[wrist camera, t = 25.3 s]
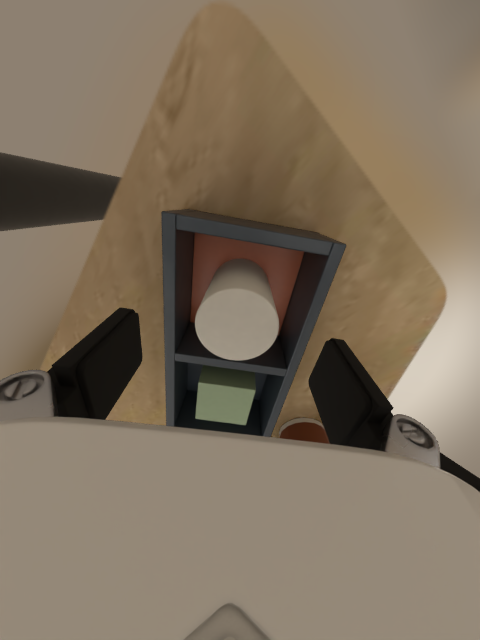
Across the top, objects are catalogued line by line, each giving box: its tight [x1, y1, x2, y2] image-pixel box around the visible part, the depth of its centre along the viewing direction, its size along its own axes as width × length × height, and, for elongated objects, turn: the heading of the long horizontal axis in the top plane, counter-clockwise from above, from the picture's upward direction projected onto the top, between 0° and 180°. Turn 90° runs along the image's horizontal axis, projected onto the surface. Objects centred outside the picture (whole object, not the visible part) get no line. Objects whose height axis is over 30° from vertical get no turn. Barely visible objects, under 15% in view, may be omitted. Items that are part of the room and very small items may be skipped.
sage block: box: [195, 365, 256, 425], centre depth 21 cm, size 5×5×5 cm
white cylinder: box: [195, 259, 279, 361], centre depth 15 cm, size 5×5×7 cm
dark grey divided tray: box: [162, 209, 346, 437], centre depth 19 cm, size 11×20×6 cm, turn 171°
